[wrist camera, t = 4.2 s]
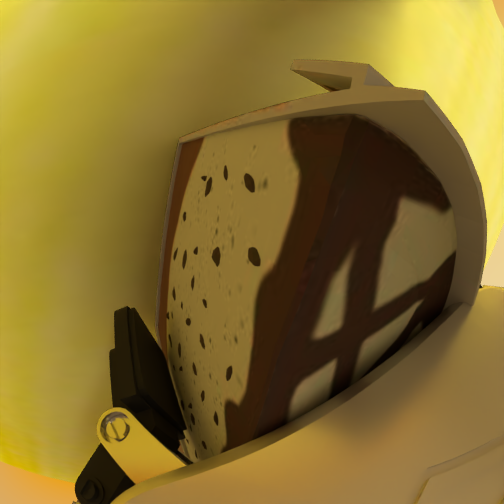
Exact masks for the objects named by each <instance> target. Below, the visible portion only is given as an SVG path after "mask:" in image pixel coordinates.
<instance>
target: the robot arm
mask: <svg viewBox="0 0 504 504" xmlns="http://www.w3.org/2000/svg"><path fill="white" fill-rule="evenodd" d="M114 330H115V349H112V350H110V354H109V358H110V377H111V390H112V401H113V408H112V409H109V410H107V411H106V412H104V413H103V414H102V416H101V417H100V418H99V420H98V423H97V428H96V431H97V436H98V438H99V440H100V442H101V443H100V445H99V446H98V448H97V449H96V451H95V452H94V454H93V455H92V457H91V458H90V460H89V462H88V463H87V465H86V466H85V468H84V469H83V471H82V472H81V474H80V476H79V477H78V479H77V481H76V483H75V493H76V497H77V499H78V500H77V502H74V501H73V503H72V504H504V288H503V287H495V286H487V285H483V287H482V286H481V285H480V287H479V290H478V294H477V297H476V300H475V303H474V305H473V306H470V305H469V304H467V303H466V302H459V303H455V304H453V305H450V306H449V307H448V308H446V309H445V310H444V311H443V312H442V313H441V314H440V315H439V316H438V317H437V318H436V319H434V320H433V321H432V322H431V323H430V324H429V325H428V326H427V327H426V328H424V329H423V330H422V331H421V332H420V333H419V334H418V335H416V336H415V337H414V338H413V339H412V340H411V341H410V342H408V343H407V344H406V345H405V346H404V347H402V348H401V349H400V350H399V351H397V352H396V353H395V354H394V355H392V356H391V357H390V358H389V359H387V360H386V361H385V362H383V363H382V364H381V365H380V366H378V367H377V368H375V369H374V370H373V371H371V372H370V373H369V374H367V375H366V376H365V377H363V378H362V379H360V380H359V381H357V382H356V383H354V384H353V385H352V386H350V387H349V388H347V389H346V390H344V391H342V392H341V393H339V394H338V395H336V396H335V397H333V398H331V399H330V400H328V401H327V402H325V403H323V404H322V405H320V406H318V407H317V408H315V409H313V410H311V411H310V412H308V413H306V414H304V415H303V416H301V417H299V418H297V419H295V420H293V421H291V422H290V423H288V424H286V425H284V426H282V427H280V428H278V429H276V430H274V431H272V432H270V433H268V434H266V435H263V436H261V437H259V438H257V439H255V440H252V441H250V442H248V443H246V444H243V445H241V446H238V447H236V448H234V449H231V450H229V451H226V452H224V453H221V454H218V455H216V456H213V457H211V458H208V459H205V460H202V461H199V462H196V463H195V462H193V461H192V460H191V459H189V458H188V457H187V456H186V455H184V454H183V453H182V452H181V451H180V450H178V448H179V446H180V445H181V444H180V441H179V440H182V439H185V438H186V437H185V434H184V432H183V431H184V430H187V426H186V423H185V420H184V417H183V414H182V411H181V408H180V405H179V402H178V399H177V395H176V392H175V389H174V385H173V382H172V378H171V375H170V371H169V367H168V364H167V360H166V357H165V355H164V353H163V351H162V350H161V348H160V347H159V345H158V344H157V342H156V341H155V339H154V338H153V336H152V335H151V333H150V332H149V330H148V329H147V327H146V325H145V324H144V322H143V321H142V319H141V317H140V316H139V314H138V312H137V311H136V309H135V308H132V309H130V308H129V307H128V306H126V307H124V308H121V309H119V310H116V311H115V312H114Z"/></svg>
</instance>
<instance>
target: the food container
mask: <svg viewBox="0 0 504 504" xmlns="http://www.w3.org/2000/svg"><path fill="white" fill-rule="evenodd" d="M290 70H292V71H294V72H296V73H298V74H300V75H302V76H304V77H306V78H307V79H309V80H311V81H313V82H315V83H316V84H318V85H320V86H322V87H323V88H325V89H327V90H328V91H330V92H329V93H324V94H319V95H314V96H309V97H305V98H301V99H296V100H292V101H288V102H284V103H281V104H277V105H273V106H270V107H266V108H263V109H259V110H256V111H253V112H249V113H246V114H243V115H240V116H237V117H234V118H231V119H228V120H225V121H222V122H219V123H217V124H214V125H211V126H208V127H206V128H203V129H200V130H198V131H195V132H193V133H190V134H188V135H185V136H183V137H180V138H179V141H178V146H177V151H176V156H175V161H174V166H173V171H172V177H171V183H170V188H169V195H168V201H167V207H166V214H165V221H164V229H163V236H162V245H161V254H160V263H159V274H158V286H157V300H156V317H155V329H156V336H157V342H158V345H159V347H160V348H161V350H162V351H163V353H164V355H165V357H166V360H167V364H168V367H169V371H170V375H171V378H172V382H173V385H174V389H175V392H176V395H177V399H178V402H179V405H180V408H181V411H182V414H183V417H184V420H185V423H186V426H187V430H184V431H183V432H184V434H185V437H186V438H185V439H182V440H180V441H181V445H182V448H183V451H184V454H185V455H186V456H187V457H188V458H189V459H191V460H192V461H193V462H195V463H196V462H199V461H202V460H205V459H208V458H211V457H213V456H216V455H218V454H221V453H224V452H226V451H229V450H231V449H234V448H236V447H238V446H241V445H243V444H246V443H248V442H250V441H252V440H255V439H257V438H259V437H261V436H263V435H266V434H268V433H270V432H272V431H274V430H276V429H278V428H280V427H282V426H284V425H286V424H288V423H290V422H291V421H293V420H295V419H297V418H299V417H301V416H303V415H304V414H306V413H308V412H310V411H311V410H313V409H315V408H317V407H318V406H320V405H322V404H323V403H325V402H327V401H328V400H330V399H331V398H333V397H335V396H336V395H338V394H339V393H341V392H342V391H344V390H346V389H347V388H349V387H350V386H352V385H353V384H354V383H356V382H357V381H359V380H360V379H362V378H363V377H365V376H366V375H367V374H369V373H370V372H371V371H373V370H374V369H375V368H377V367H378V366H380V365H381V364H382V363H383V362H385V361H386V360H387V359H389V358H390V357H391V356H392V355H394V354H395V353H396V352H397V351H399V350H400V349H401V348H402V347H404V346H405V345H406V344H407V343H408V342H410V341H411V340H412V339H413V338H414V337H415V336H416V335H418V334H419V333H420V332H421V331H422V330H423V329H424V328H426V327H427V326H428V325H429V324H430V323H431V322H432V321H433V320H434V319H436V318H437V317H438V316H439V315H440V314H441V313H442V312H443V311H444V310H445V309H446V308H448V307H449V306H450V305H453V304H455V303H459V302H466V303H467V304H469V305H470V306H473V305H474V303H475V300H476V297H477V294H478V290H479V287H480V283H481V279H482V274H483V268H484V263H485V257H486V243H487V218H486V210H485V204H484V198H483V192H482V186H481V183H480V180H479V177H478V175H477V172H476V169H475V167H474V164H473V162H472V160H471V157H470V155H469V153H468V150H467V148H466V146H465V144H464V142H463V139H462V138H461V136H460V135H459V134H458V132H457V131H456V129H455V128H454V126H453V125H452V124H451V122H450V121H449V120H448V118H447V117H446V116H445V114H444V113H443V112H442V110H441V109H440V108H439V107H438V105H437V104H436V103H435V102H434V100H433V99H432V98H431V97H430V96H429V94H428V93H427V92H426V91H423V90H416V89H408V88H399V87H394V86H393V85H392V84H391V83H390V82H389V81H388V80H387V79H386V78H384V77H383V76H382V75H381V74H380V73H379V72H377V71H376V70H375V69H374V68H373V67H371V66H370V65H369V64H362V63H353V62H342V61H328V60H294V61H293V63H292V66H291V69H290Z"/></svg>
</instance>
